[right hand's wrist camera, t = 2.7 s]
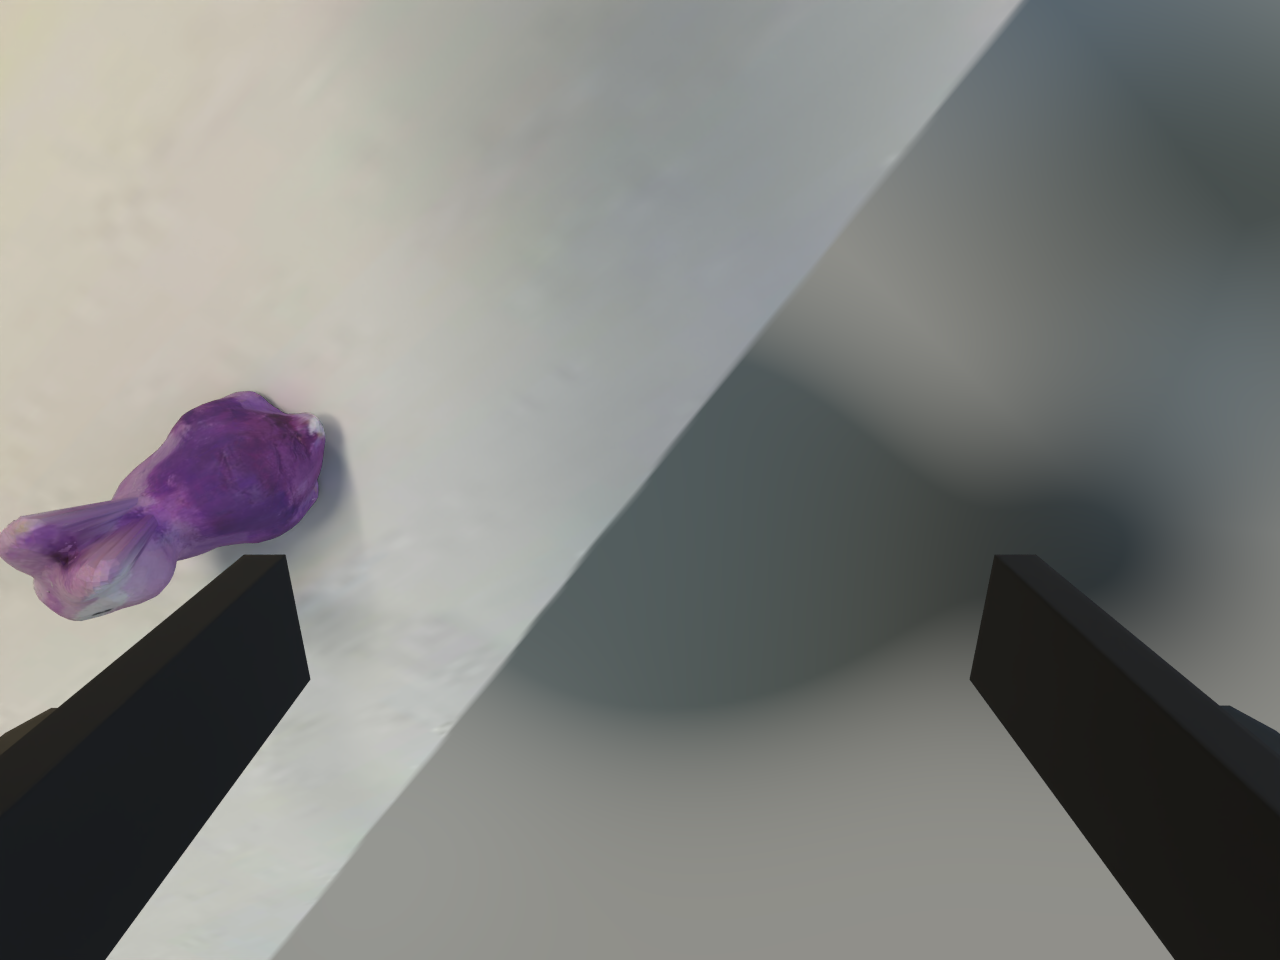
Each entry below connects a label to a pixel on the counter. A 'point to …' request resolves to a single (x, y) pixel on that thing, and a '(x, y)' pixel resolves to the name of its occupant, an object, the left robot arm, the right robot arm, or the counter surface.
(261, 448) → the figurine
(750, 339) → the counter surface
